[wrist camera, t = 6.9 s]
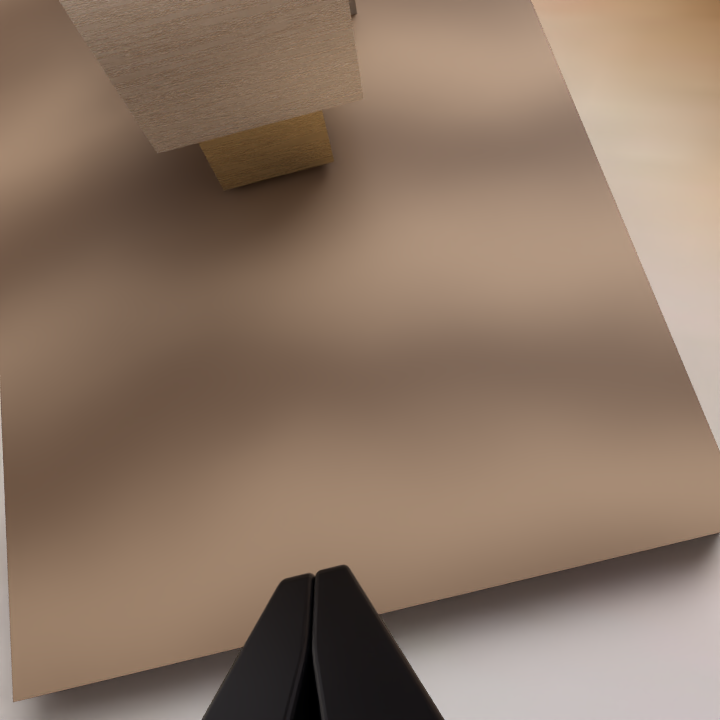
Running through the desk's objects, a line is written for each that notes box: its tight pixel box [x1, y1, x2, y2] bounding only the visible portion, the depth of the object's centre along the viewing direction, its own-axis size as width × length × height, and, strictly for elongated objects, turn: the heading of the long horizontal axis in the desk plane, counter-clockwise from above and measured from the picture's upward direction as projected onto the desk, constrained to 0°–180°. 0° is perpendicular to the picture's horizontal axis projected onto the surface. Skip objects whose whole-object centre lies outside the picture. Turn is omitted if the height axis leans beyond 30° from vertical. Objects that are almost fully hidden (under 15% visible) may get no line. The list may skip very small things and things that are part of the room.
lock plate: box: [0, 0, 720, 702], centre depth 17 cm, size 22×16×5 cm
